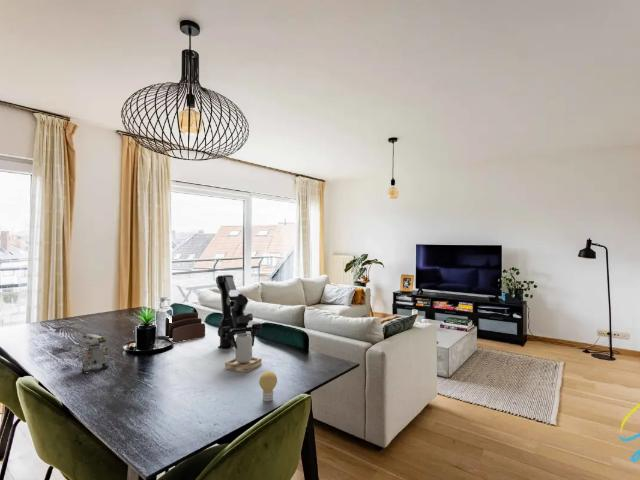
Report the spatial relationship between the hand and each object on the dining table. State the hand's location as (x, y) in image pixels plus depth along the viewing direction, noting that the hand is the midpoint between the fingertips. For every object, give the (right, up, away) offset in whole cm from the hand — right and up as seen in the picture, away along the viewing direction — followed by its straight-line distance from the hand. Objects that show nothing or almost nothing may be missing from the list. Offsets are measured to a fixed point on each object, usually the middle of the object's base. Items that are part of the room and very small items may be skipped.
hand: (244, 346), depth 154 cm
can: (-1, -7, +1) cm, 7 cm away
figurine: (-65, -8, -5) cm, 66 cm away
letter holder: (-45, -9, +45) cm, 64 cm away
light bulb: (+15, -9, -32) cm, 37 cm away
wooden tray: (-1, -9, +1) cm, 9 cm away
